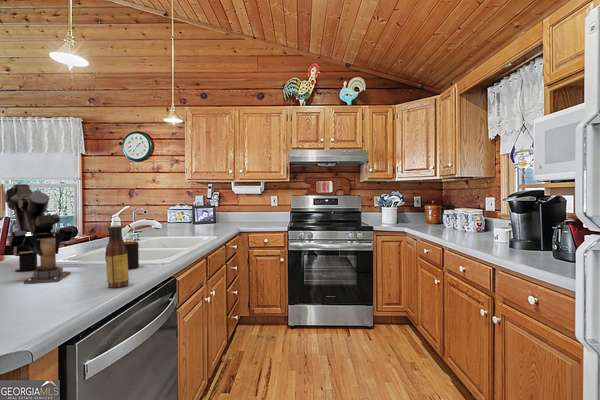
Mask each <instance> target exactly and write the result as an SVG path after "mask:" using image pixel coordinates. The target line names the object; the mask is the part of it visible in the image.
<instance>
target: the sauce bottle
mask: <svg viewBox="0 0 600 400" xmlns="http://www.w3.org/2000/svg"><path fill="white" fill-rule="evenodd" d="M107 231H108V236H109V238H108V243H107V245H106V247H105V253H106V259H105V263H106V277H107V279H106V280H107V285H108V286H107V287H109V288H115V289H116V288H123V287H126V286H128V285H129V280H130V277H129V276H130V275H129V270H128V259H127V250H126V246H125V245H124V242H125V241H124V239H123V226H122V225H110V226H108V227H107Z"/></svg>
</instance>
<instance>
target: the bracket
mask: <svg viewBox="0 0 600 400" xmlns="http://www.w3.org/2000/svg"><path fill="white" fill-rule="evenodd" d="M63 270H64V268H63V267H61V266H56V270H51V271H41V267H40V268H38V269H36V270H32V274H33V275H32V276H31V277H30V278H28V279H25V280H24V281H23V284H24V285H33V284H47V283H59V282H60V281H63V278H64V279H65V278H67V277H68V276H70V275H71V271H66V270H65V271H63ZM66 276H67V277H66Z"/></svg>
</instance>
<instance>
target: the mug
mask: <svg viewBox="0 0 600 400" xmlns="http://www.w3.org/2000/svg"><path fill="white" fill-rule="evenodd" d="M123 242H124V245H125V246H126V250H127V259H128V271H129V270H136V269H138V268H139V267H140V266H139V265H140V264H139V263H140V262H139V255H140V254H139V241H134V240H133V241H123ZM104 255H105V256H104V257H105V260H106V252H105V254H104Z"/></svg>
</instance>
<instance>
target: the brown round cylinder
mask: <svg viewBox="0 0 600 400" xmlns="http://www.w3.org/2000/svg"><path fill="white" fill-rule="evenodd" d="M40 249H41V252H42V256H39V257H40V263H39V264H40V266H41V267H40V268H41V271H51V270H56V267H57V262H56V259H57V258H56V257H57V256H56V255H57V254H56V252H55V238H42V239H40Z"/></svg>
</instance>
